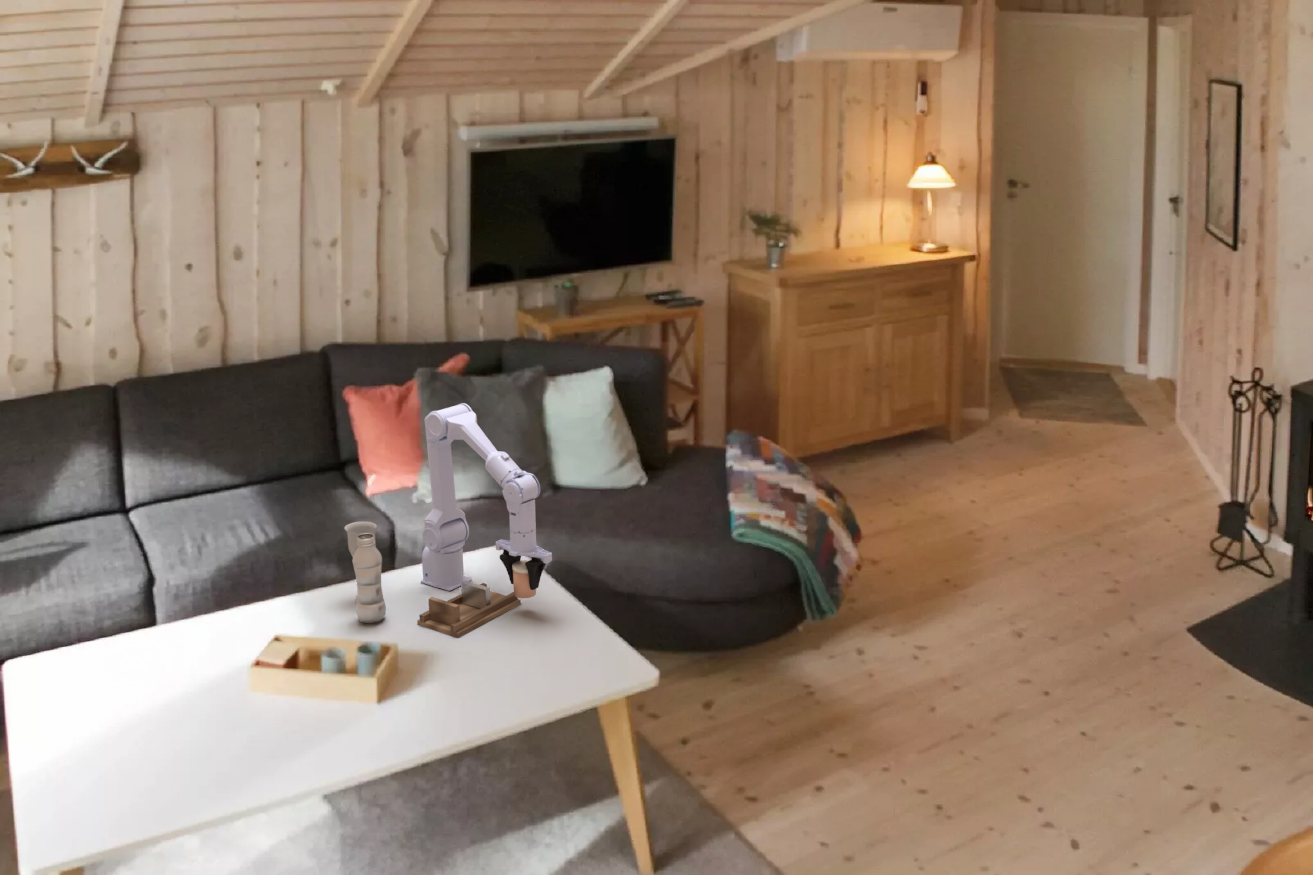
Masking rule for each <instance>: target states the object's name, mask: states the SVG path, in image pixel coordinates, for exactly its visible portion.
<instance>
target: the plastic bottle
mask: <svg viewBox="0 0 1313 875" xmlns="http://www.w3.org/2000/svg"><path fill="white" fill-rule="evenodd" d="M357 541H358V542H357V545H358V546H359V547H358V549H357V550H356V552H355V554H354V556H353V557H352V565H353V570H354V574H355V581H356V586H357V593H356V594H357V595H356V596H357V603H356V607H355V608H356V610H355V611H356V616H357V618H358V620H359V621H360V622H362V623H365V624H373V623H377V622H380V621H382V620H383V619H384V617H385V616H386V612H387V605H386V602H385V599H384V594H383V593H384V592H383V589H382V588H383V587H382V567H383V556H382V554H381V552H380V551H379V549H378V548H377V546H376V547H375V546H374V544H375V541H376V540H375V541H374V535H373V534H370V533H365V534H360V535H359V536H358V537H357Z"/></svg>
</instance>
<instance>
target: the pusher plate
mask: <svg viewBox="0 0 1313 875" xmlns="http://www.w3.org/2000/svg"><path fill="white" fill-rule="evenodd" d="M460 588H461V594H462V603H464V604H467V605H470V606H473V607H477V608H480V609H482V608H484V607H486V606H488V605H490V604H491V602H490V591H491V587H489V586H487V587H486V586H483V585H480V584H479V583H476V582H472V581H464V582H462V583H461V586H460Z"/></svg>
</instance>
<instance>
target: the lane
mask: <svg viewBox="0 0 1313 875" xmlns="http://www.w3.org/2000/svg"><path fill="white" fill-rule="evenodd" d="M479 585H483V586H486V587H488V584H487V583H484V582H481V583H480V584H479ZM427 600H428V610H426V611H424V612H422V613H420V614H419V619H417V621H416V622H417V625H418V626H421V627H424V628H427V629H429V630H433V631H437V632H440V633H441V634H445V635H448V636H452V637H454V638H458V639H459V638H461V637H463V636H464V635H466V634H468V633H469V632H471V631H474V630H475V629H477V628H479V627H480V626H483V625H484V624H487V623H488V622H490V621H491V620H494V619H495V618H497V617H499V616H501V615H503V614H504V613H506V612H508V611H510V610H512V609H515V608H516V607H518V606H520V605H521V604H522V603H521V599H520V598H518V597H515V596H514V591H513V592H510V593H509V594H506V595H505V594H503V593H498V592H495V591H492V590H490V602H491V604H490V605H488V606H486V607H484V608H482V609H480V608H477V607H473V606H470V605H467V604H464V603H462V593H460V594H458V595H456V596H455V597H453V598H450V599H449V600H444V599H440V598H438V597H434V596H431V597H429V598H428V599H427Z"/></svg>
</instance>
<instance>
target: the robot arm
mask: <svg viewBox="0 0 1313 875" xmlns="http://www.w3.org/2000/svg"><path fill="white" fill-rule="evenodd" d="M424 429H425V439H426V440H425V441H426V448H427V457H428V458H427V460H428V468H429V469H428V470H429V478H430V479H429V480H430V482H429V483H430V489H431V492H430V493H431V502H432V509H431V511H430V512H429V513H428V514H427V515H426V516H425V518H424V520H423V522H424V526H423V531H422V538H423V542H424V544H425V546H424V548H423V551H422V554H421V564H422V565H421V566H422V579H421V580H420V583H422V584H426V585H429V586H432V587H435V588H439V589H442V590H445V591H448V592H450V591H453V590H455V589H457V588H459V587H461V583H462V582H464V581H469V582H472V580H473V579H472V577H470V576H466V575H465V574H464V573H465V572H464V553H463V551H464V550H463V547H464V546H465V544H466V543H465V542H466V540H468V538H469V536H470V526H469V523H468V522H467V520H466V519H467V518H466V513H465V512H464V511H463V510H462V509H460V508H458V507H457V499H456V490H455V479H454V476H455V475H454V467H453V456H452V442H453V441H454V440H457V441H458V440H459V441H464V442H465V443H466V444H467V445H468V446H469V447H470V448H471V449H473V451H475V453H477V454H478V455H479V456H480V457H481V458H482V459H483V460H484V461H485V470H486V471H487V472H488V473H489V475H490V476H491V477H492V478H493V480H495V481H496V482H497V483H498V485H499V486H500V487H501V488H502V491H501V492H502V495H503V498H504V500H505V502H506V503H505V504H506V509H507V512H508V513H509V514H508V516H509V518H508V519H509V539H508V540H507V539H502V538H500V539H499V540H497V541H495V550H496V551H501V550H502V553H501V554H500V555H499V560H500V561H501V563H502V564H503V565H504V567H505V569H506V572H507V575H508V579H509V581H510V584H511V585H513V570H512V564H513V563H515V562H517V561H521V559H522V557H526V558H530V560H529V561H527V562H525V565H526V567H527V570H528V574H529V584H530V589H531V590H534V589H536V590H537V589H538V588H539V587H540V583H541V582H540V581H541V578H542V574H543V572H544V569H545V567H546V565H547V564H548V563H551V562H552V561H553V553H552V552H551V551H548V550H545V549H544V548H543V547H540V546H538V544H537V527H536V526H537V524H536V521H537V520H536V499H537V498H538V497H539V496H540V494H541V484H540V482H539V480H538V478H537V477H536V474H533V473H531V472H527V471H526V470H523V469H521V468H520V467H519V466H518V464H517V463H516V462H515V461H514V460H513V459H512V458H511V457H510V455H509V454H508V453H507V452H506V451H500V450H499V451H498V450H497V448H496V446H494V445H493V443H492V441H491V440H490V439H489V438H488V436H487V435H486V434H485V433H484V431H483V430H482V429H481V427H480V426H479V425H478V418H477V413H475V412H474V411H473V409H472V407H470V405H469V404H467V403H464V402H463V403H462V402H461V403H459V404H456V405H453V406H449V407H445V408H442V409H438V410H432V411H430V412H429V413H428V414H427V415H426V416H425V418H424Z"/></svg>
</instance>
